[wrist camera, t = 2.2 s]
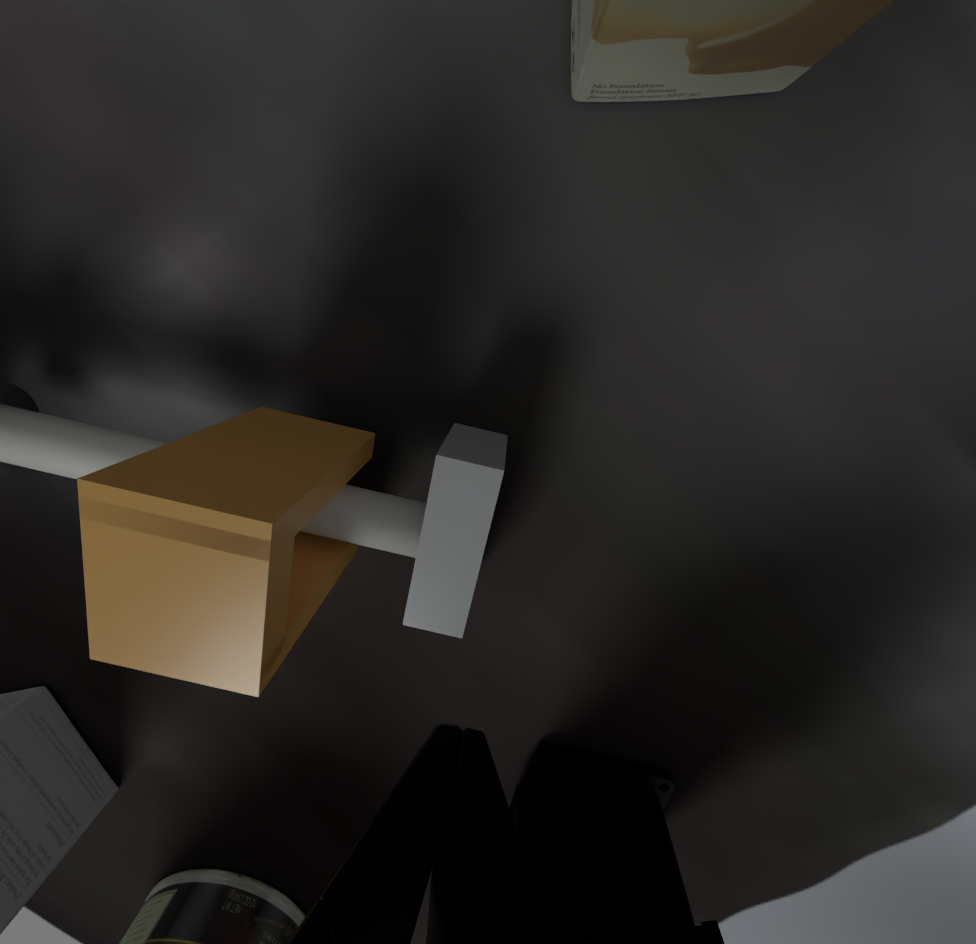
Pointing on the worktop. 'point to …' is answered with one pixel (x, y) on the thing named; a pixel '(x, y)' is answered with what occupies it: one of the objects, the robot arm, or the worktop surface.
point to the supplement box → (41, 793)
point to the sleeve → (215, 547)
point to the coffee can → (214, 911)
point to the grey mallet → (347, 516)
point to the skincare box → (703, 45)
